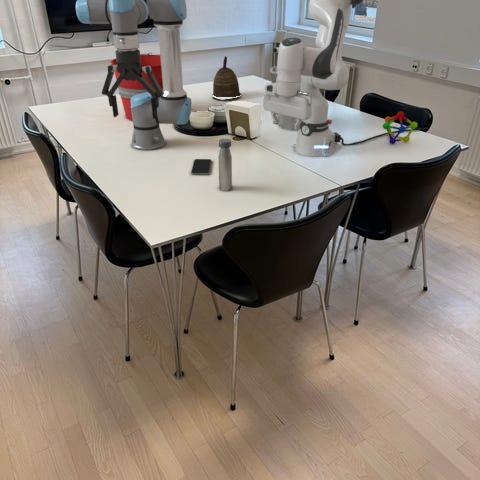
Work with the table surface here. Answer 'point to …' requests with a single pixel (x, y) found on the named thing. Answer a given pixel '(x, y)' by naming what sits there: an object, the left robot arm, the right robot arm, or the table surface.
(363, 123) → the table surface
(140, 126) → the left robot arm
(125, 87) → the bucket
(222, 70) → the bell
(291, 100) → the right robot arm
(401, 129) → the educational toy
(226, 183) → the bottle
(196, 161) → the smartphone
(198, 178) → the table surface
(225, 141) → the cap
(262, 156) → the table surface
